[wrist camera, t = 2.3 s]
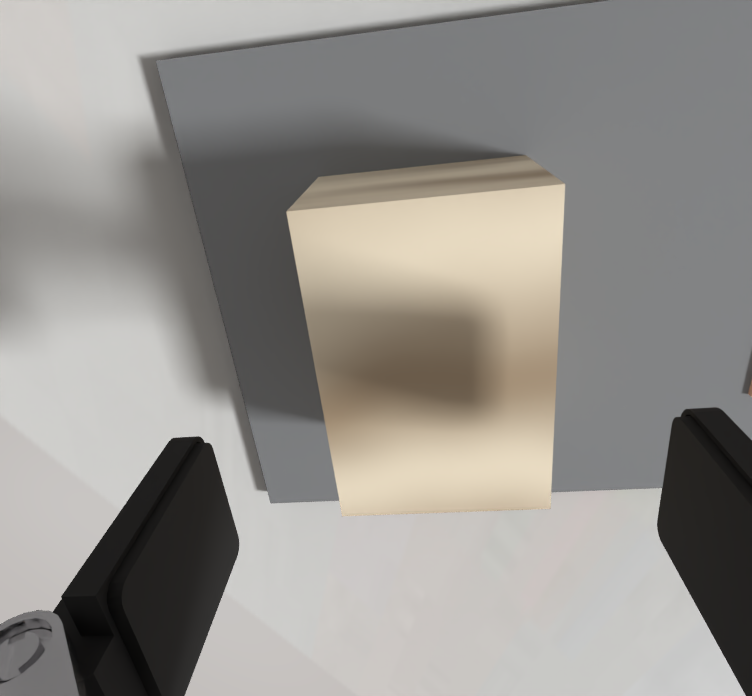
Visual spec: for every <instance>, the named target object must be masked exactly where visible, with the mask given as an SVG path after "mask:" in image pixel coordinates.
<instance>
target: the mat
mask: <svg viewBox="0 0 752 696" xmlns="http://www.w3.org/2000/svg"><path fill="white" fill-rule="evenodd" d="M156 64H157V67H158V71H159V75H160V79H161V83H162V87H163V91H164V94H165V98H166V102H167V106H168V110H169V114H170V117H171V121H172V125H173V129H174V133H175V137H176V141H177V144H178V148H179V152H180V156H181V160H182V164H183V168H184V171H185V175H186V179H187V183H188V187H189V191H190V195H191V198H192V202H193V206H194V210H195V214H196V218H197V222H198V225H199V229H200V233H201V237H202V241H203V245H204V248H205V252H206V256H207V260H208V264H209V268H210V272H211V275H212V279H213V283H214V287H215V291H216V295H217V299H218V302H219V306H220V310H221V314H222V318H223V322H224V326H225V329H226V333H227V337H228V341H229V345H230V349H231V353H232V356H233V360H234V364H235V368H236V372H237V376H238V380H239V383H240V387H241V391H242V395H243V399H244V403H245V406H246V410H247V414H248V418H249V422H250V426H251V430H252V433H253V437H254V441H255V445H256V449H257V453H258V457H259V460H260V464H261V468H262V472H263V476H264V480H265V484H266V487H267V491H268V495H269V499H270V503H290V502H316V501H339V496H338V490H337V485H336V479H335V474H334V469H333V463H332V458H331V452H330V447H329V441H328V436H327V430H326V425H325V420H324V414H323V409H322V403H321V398H320V392H319V387H318V382H317V376H316V371H315V365H314V360H313V354H312V349H311V344H310V338H309V333H308V327H307V322H306V316H305V311H304V305H303V300H302V295H301V289H300V284H299V278H298V273H297V267H296V262H295V257H294V251H293V246H292V240H291V235H290V229H289V224H288V219H287V213H286V211H287V210H288V209H289V208H290V207H291V206H292V205H293V204H294V203H295V202H296V201H297V199H298V198H299V197H300V196H301V195H302V194H303V193H304V192H305V191H306V190H307V189H308V188H309V187H310V186H311V184H312V183H313V182H314V181H315V180H316V179H317V178H318V177H322V176H332V175H341V174H351V173H360V172H370V171H379V170H389V169H398V168H408V167H417V166H427V165H436V164H446V163H455V162H465V161H474V160H484V159H493V158H503V157H512V156H522V155H526V156H528V157H529V158H531V159H532V160H533V161H535V162H536V163H537V164H539V165H540V166H541V167H543V168H544V169H545V170H547V171H548V172H550V173H551V174H552V175H554V176H555V177H556V178H558V179H559V180H560V181H562V182H563V183H565V201H564V223H563V245H562V267H561V288H560V310H559V332H558V354H557V376H556V398H555V420H554V442H553V464H552V485H551V492H570V491H595V490H621V489H646V488H662V487H663V480H664V473H665V467H666V460H667V453H668V446H669V440H670V433H671V426H672V421H673V419H674V418H675V417H681V414H682V412H683V411H684V410H685V409H693V408H711V407H717V408H720V409H721V410H723V411H724V412H725V413H726V414H727V415H728V416H729V417H730V418H731V419H732V420H733V421H734V423H735V424H736V425H737V426H738V427H739V428H740V429H741V430H742V431H743V432H744V433H745V434H746V435H747V436H748V437H749V438H750V439H751V440H752V0H607V1H600V2H592V3H585V4H577V5H570V6H562V7H555V8H547V9H540V10H532V11H525V12H517V13H510V14H502V15H495V16H487V17H480V18H472V19H465V20H457V21H450V22H442V23H435V24H427V25H420V26H412V27H405V28H397V29H390V30H382V31H375V32H367V33H360V34H352V35H345V36H337V37H330V38H322V39H314V40H307V41H299V42H292V43H284V44H277V45H269V46H262V47H254V48H247V49H239V50H232V51H224V52H217V53H209V54H202V55H194V56H187V57H179V58H172V59H164V60H157V61H156Z"/></svg>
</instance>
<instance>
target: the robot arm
mask: <svg viewBox="0 0 752 696" xmlns="http://www.w3.org/2000/svg"><path fill="white" fill-rule="evenodd" d="M657 527H658V533H659V537H660V540H661V542H662V544H663V546H664V547H665V549H666V551H667V553H668V555H669V557H670V558H671V560H672V562H673V564H674V566H675V567H676V569H677V571H678V573H679V575H680V577H681V578H682V580H683V582H684V584H685V586H686V587H687V589H688V591H689V593H690V595H691V597H692V598H693V600H694V602H695V604H696V606H697V607H698V609H699V611H700V613H701V615H702V617H703V618H704V620H705V622H706V624H707V626H708V627H709V629H710V631H711V633H712V635H713V637H714V638H715V640H716V642H717V644H718V646H719V647H720V649H721V651H722V653H723V655H724V657H725V658H726V660H727V662H728V664H729V666H730V667H731V669H732V671H733V673H734V675H735V677H736V678H737V680H738V682H739V684H740V686H741V687H742V689H743V691H744V693H745V695H746V696H752V440H751V439H750V438H749V437H748V436H747V435H746V434H745V433H744V432H743V431H742V430H741V429H740V428H739V427H738V426H737V425H736V424H735V423H734V421H733V420H732V419H731V418H730V417H729V416H728V415H727V414H726V413H725V412H724V411H723V410H721V409H720V408H717V407H711V408H693V409H685V410H684V411H683V412H682V414H681V417H675V418H674V419H673V421H672V426H671V433H670V440H669V446H668V453H667V460H666V467H665V473H664V480H663V487H662V494H661V500H660V507H659V514H658V521H657ZM238 551H239V538H238V534H237V530H236V527H235V524H234V520H233V517H232V513H231V510H230V506H229V503H228V499H227V496H226V492H225V489H224V485H223V482H222V478H221V475H220V472H219V468H218V465H217V461H216V458H215V454H214V451H213V448H212V446H211V444H210V443H204V440H203V439H202V438H201V437H182V438H173V439H171V440H170V441H169V442H168V444H167V445H166V447H165V448H164V450H163V451H162V452H161V454H160V455H159V457H158V458H157V460H156V461H155V462H154V464H153V465H152V467H151V468H150V470H149V471H148V473H147V474H146V475H145V477H144V478H143V480H142V481H141V483H140V484H139V485H138V487H137V488H136V490H135V491H134V493H133V494H132V496H131V497H130V498H129V500H128V501H127V503H126V504H125V506H124V507H123V508H122V510H121V511H120V513H119V514H118V516H117V517H116V519H115V520H114V521H113V523H112V525H111V526H110V527H109V529H108V530H107V532H106V533H105V535H104V536H103V537H102V539H101V540H100V542H99V543H98V545H97V546H96V547H95V549H94V550H93V552H92V553H91V555H90V556H89V557H88V559H87V560H86V562H85V563H84V565H83V566H82V568H81V569H80V570H79V572H78V573H77V575H76V576H75V578H74V579H73V581H72V582H71V583H70V585H69V586H68V588H67V589H66V591H65V592H64V593H63V595H62V596H61V597H62V600H61V601H60V602H59V604H58V605H57V607H56V608H55V610H54V611H53V612H51V611H42V610H36V611H32V612H27V613H23V614H21V615H18V616H16V617H13V618H11V619H8V620H7V621H5V622H4V623H2V624H0V696H184V695H185V693H186V690H187V687H188V685H189V682H190V679H191V677H192V674H193V672H194V669H195V666H196V664H197V661H198V658H199V656H200V653H201V650H202V648H203V645H204V643H205V640H206V637H207V635H208V632H209V629H210V626H211V624H212V621H213V619H214V616H215V614H216V611H217V608H218V605H219V603H220V600H221V598H222V595H223V592H224V590H225V587H226V584H227V582H228V579H229V576H230V574H231V571H232V569H233V566H234V563H235V561H236V558H237V555H238Z"/></svg>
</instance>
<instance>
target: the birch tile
mask: <svg viewBox="0 0 752 696" xmlns="http://www.w3.org/2000/svg"><path fill="white" fill-rule="evenodd" d="M564 201H565V183H563V182H562V181H560V180H559V179H558V178H556V177H555V176H554V175H552V174H551V173H550V172H548V171H547V170H545V169H544V168H543V167H541V166H540V165H539V164H537V163H536V162H535V161H533V160H532V159H531V158H529V157H528V156H526V155H522V156H512V157H503V158H493V159H484V160H474V161H465V162H455V163H446V164H436V165H427V166H417V167H408V168H398V169H389V170H379V171H370V172H360V173H351V174H341V175H332V176H322V177H318V178H317V179H316V180H315V181H314V182H313V183H312V184H311V186H310V187H309V188H308V189H307V190H306V191H305V192H304V193H303V194H302V195H301V196H300V197H299V198H298V199H297V201H296V202H295V203H294V204H293V205H292V206H291V207H290V208H289V209H288V210H287V211H286V213H287V219H288V224H289V229H290V235H291V240H292V246H293V251H294V257H295V262H296V267H297V273H298V278H299V284H300V289H301V295H302V300H303V305H304V311H305V316H306V322H307V327H308V333H309V338H310V344H311V349H312V354H313V360H314V365H315V371H316V376H317V382H318V387H319V392H320V398H321V403H322V409H323V414H324V420H325V425H326V430H327V436H328V441H329V447H330V452H331V458H332V463H333V469H334V474H335V479H336V485H337V490H338V496H339V501H340V507H341V512H342V516H362V515H390V514H417V513H445V512H473V511H500V510H528V509H550V507H551V485H552V464H553V442H554V420H555V398H556V376H557V354H558V332H559V310H560V288H561V267H562V245H563V223H564Z"/></svg>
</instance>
